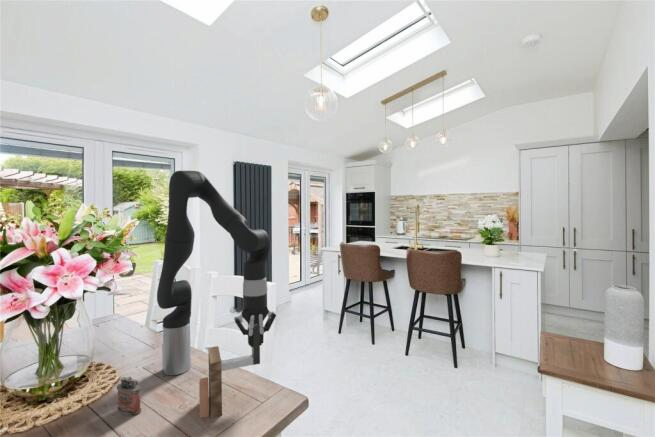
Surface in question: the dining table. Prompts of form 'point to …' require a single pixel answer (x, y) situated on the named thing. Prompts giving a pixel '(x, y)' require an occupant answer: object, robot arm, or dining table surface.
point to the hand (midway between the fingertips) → (255, 345)
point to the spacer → (204, 397)
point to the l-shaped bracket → (245, 360)
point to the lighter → (129, 397)
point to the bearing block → (215, 381)
